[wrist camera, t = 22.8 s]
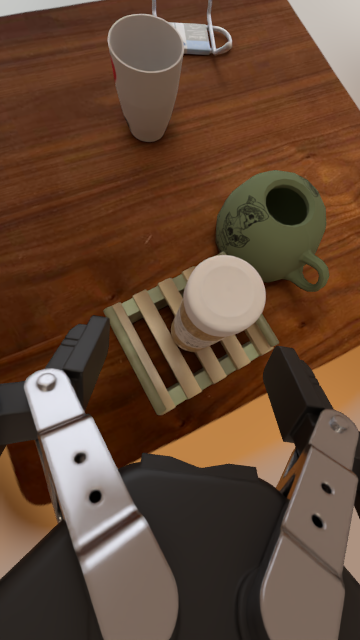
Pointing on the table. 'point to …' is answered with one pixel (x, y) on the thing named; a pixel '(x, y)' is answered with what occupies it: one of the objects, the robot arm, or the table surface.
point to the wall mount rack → (199, 35)
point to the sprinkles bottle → (218, 302)
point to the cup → (146, 72)
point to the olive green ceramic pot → (275, 227)
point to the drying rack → (188, 383)
